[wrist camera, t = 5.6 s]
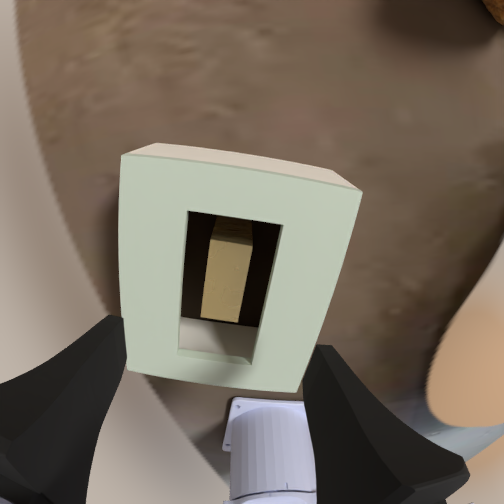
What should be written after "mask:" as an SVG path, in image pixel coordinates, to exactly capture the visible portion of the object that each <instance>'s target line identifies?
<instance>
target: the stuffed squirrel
mask: <svg viewBox="0 0 504 504" xmlns="http://www.w3.org/2000/svg"><path fill="white" fill-rule="evenodd" d="M482 2H483V3H484V4H485V5H486V8H487V9H488V11H490V13H491V14H492V16H493V17H494V18H495V20H496V21H497V22H499V23H500V24H501V25H504V0H482Z"/></svg>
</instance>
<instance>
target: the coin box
mask: <svg viewBox="0 0 504 504" xmlns="http://www.w3.org/2000/svg"><path fill="white" fill-rule="evenodd" d="M362 193H363V192H362V191H360V190H359V189H358V188H356V187H355V186H353V185H352V184H351V183H349V182H348V181H346V180H345V179H344V178H342V177H341V176H339V175H338V174H336V173H335V172H333V171H332V170H329V169H325V168H320V167H315V166H310V165H305V164H300V163H295V162H290V161H285V160H279V159H273V158H268V157H262V156H256V155H250V154H243V153H237V152H230V151H223V150H215V149H208V148H200V147H191V146H183V145H173V144H163V143H154V144H151V145H148V146H146V147H143V148H140V149H137V150H134V151H131V152H128V153H126V154H123V155H121V169H120V187H119V221H118V248H119V282H120V300H121V315H122V318H124V330H125V341H126V350H127V360H126V364H127V370H130V371H134V372H139V373H144V374H149V375H154V376H159V377H165V378H170V379H176V380H182V381H188V382H195V383H202V384H209V385H216V386H224V387H233V388H242V389H253V390H264V391H278V392H295V393H296V391H297V389H298V387H299V384H300V382H301V379H302V377H303V374H304V372H305V369H306V367H307V364H308V361H309V359H310V356H311V354H312V351H313V348H314V346H315V343H316V340H317V338H318V335H319V332H320V329H321V327H322V324H323V321H324V318H325V315H326V312H327V309H328V307H329V304H330V301H331V298H332V295H333V292H334V289H335V286H336V283H337V279H338V276H339V273H340V270H341V267H342V264H343V260H344V257H345V254H346V251H347V247H348V244H349V240H350V237H351V233H352V230H353V226H354V223H355V219H356V216H357V212H358V208H359V204H360V201H361V197H362ZM189 211H195V212H202V213H209V214H216V215H223V216H230V217H236V218H243V219H250V220H256V221H262V222H269V223H275V224H281V228H280V233H279V237H278V242H277V247H276V251H275V256H274V260H273V265H272V270H271V274H270V279H269V283H268V288H267V292H266V297H265V301H264V306H263V310H262V314H261V319H260V323H259V328H258V327H249V326H241V325H233V324H226V323H219V322H212V321H205V320H198V319H191V318H185V317H181V299H182V283H183V269H184V257H185V245H186V234H187V223H188V213H189Z"/></svg>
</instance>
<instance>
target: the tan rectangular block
mask: <svg viewBox="0 0 504 504" xmlns="http://www.w3.org/2000/svg"><path fill="white" fill-rule="evenodd" d="M252 248H253V239H252V220H250V219H243V218H236V217H230V216H223V215H217V218H216V222H215V225H214V229H213V232H212V236H211V240H210V247H209V254H208V261H207V269H206V277H205V284H204V292H203V301H202V309H201V317H204V318H211V319H217V320H224V321H230V322H237V323H238V318H239V313H240V308H241V303H242V298H243V293H244V288H245V283H246V278H247V273H248V268H249V263H250V258H251V253H252Z"/></svg>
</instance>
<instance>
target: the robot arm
mask: <svg viewBox="0 0 504 504" xmlns="http://www.w3.org/2000/svg"><path fill="white" fill-rule="evenodd" d="M126 360H127V350H126V341H125V330H124V318H122V317H117V316H112V315H108V316H106V317H105V318H104V319H102V320H101V321H100V322H99V323H97V324H96V325H95V326H94V327H92V328H91V329H90V330H89V331H88V332H86V333H85V334H84V335H82V336H81V337H80V338H79V339H77V340H76V341H75V342H73V343H72V344H71V345H69V346H68V347H67V348H65V349H64V350H62V351H61V352H60V353H58V354H57V355H55V356H54V357H52V358H51V359H49V360H48V361H46V362H45V363H43V364H41V365H39V366H38V367H36V368H34V369H33V370H30V371H28V372H26V373H24V374H22V375H20V376H18V377H16V378H14V379H11V380H9V381H7V382H4V383H1V384H0V504H86V496H87V488H88V482H89V476H90V470H91V465H92V461H93V456H94V451H95V447H96V443H97V440H98V436H99V432H100V429H101V426H102V424H103V421H104V418H105V416H106V413H107V411H108V409H109V407H110V404H111V402H112V400H113V397H114V395H115V392H116V390H117V387H118V385H119V383H120V381H121V378H122V374H123V371H124V367H125V364H126ZM302 382H303V399H304V401H282V400H267V399H254V398H243V397H235V398H233V400H232V403H231V408H230V413H229V418H228V422H227V427H226V432H225V436H224V441H223V446H222V449H223V450H224V451H229V452H231V463H230V501H223V504H447V503H446V500H445V499H446V498H447V497H449V496H450V495H451V494H453V493H454V492H455V491H457V490H458V489H459V488H461V487H462V486H463V485H464V484H465V483H466V482H467V481H468V479H469V477H470V473H469V471H468V468H467V466H466V464H465V462H464V459H463V457H462V456H459V455H457V454H455V453H453V452H451V451H449V450H446V449H444V448H442V447H440V446H438V445H437V444H435V443H433V442H431V441H430V440H428V439H426V438H425V437H423V436H422V435H420V434H418V433H417V432H416V431H414V430H413V429H411V428H410V427H409V426H407V425H406V424H405V423H403V422H402V421H401V420H400V419H398V418H397V417H396V416H395V415H394V414H393V413H391V412H390V411H389V410H388V409H387V408H386V407H385V406H384V405H383V404H382V403H381V402H380V401H379V400H378V399H377V398H376V397H375V396H374V395H373V394H372V393H371V392H370V391H369V390H368V389H367V388H366V386H365V385H364V384H363V383H362V382H361V381H360V380H359V378H358V377H357V376H356V375H355V374H354V372H353V371H352V370H351V369H350V367H349V366H348V365H347V364H346V362H345V361H344V360H343V359H342V357H341V356H340V355H339V354H338V352H337V351H336V350H335V349H334V347H333V346H332V345H318V344H317V345H316V348H315V350H314V353H313V355H312V358H311V361H310V363H309V366H308V368H307V371H306V373H305V376H304V378H303V381H302ZM469 504H474V503H469Z"/></svg>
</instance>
